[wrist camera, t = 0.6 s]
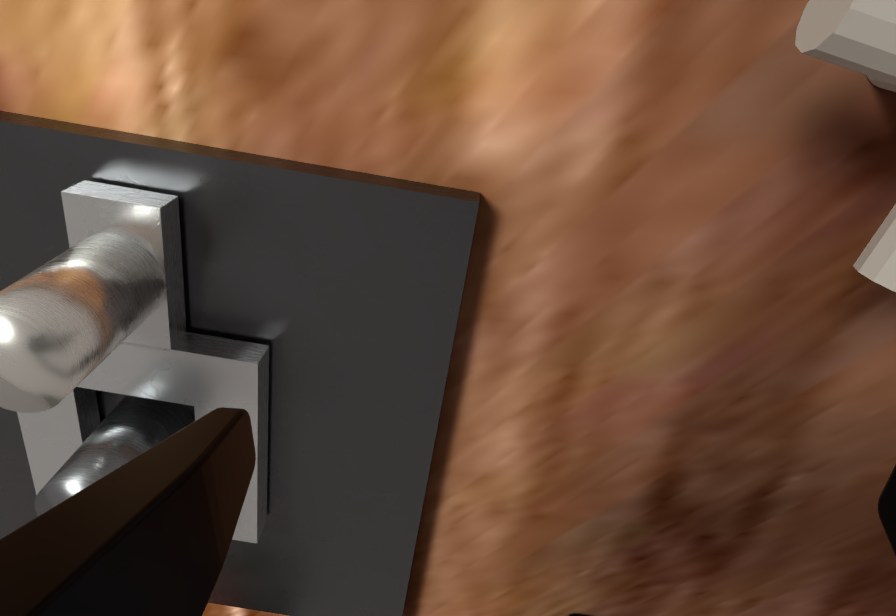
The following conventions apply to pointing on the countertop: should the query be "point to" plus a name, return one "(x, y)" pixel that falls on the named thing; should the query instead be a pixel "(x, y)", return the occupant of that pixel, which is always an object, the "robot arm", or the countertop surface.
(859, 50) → the pipe connector
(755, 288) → the countertop surface
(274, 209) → the post base
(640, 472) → the countertop surface
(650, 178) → the countertop surface
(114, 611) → the robot arm
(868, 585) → the countertop surface
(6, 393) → the metal knob latch
